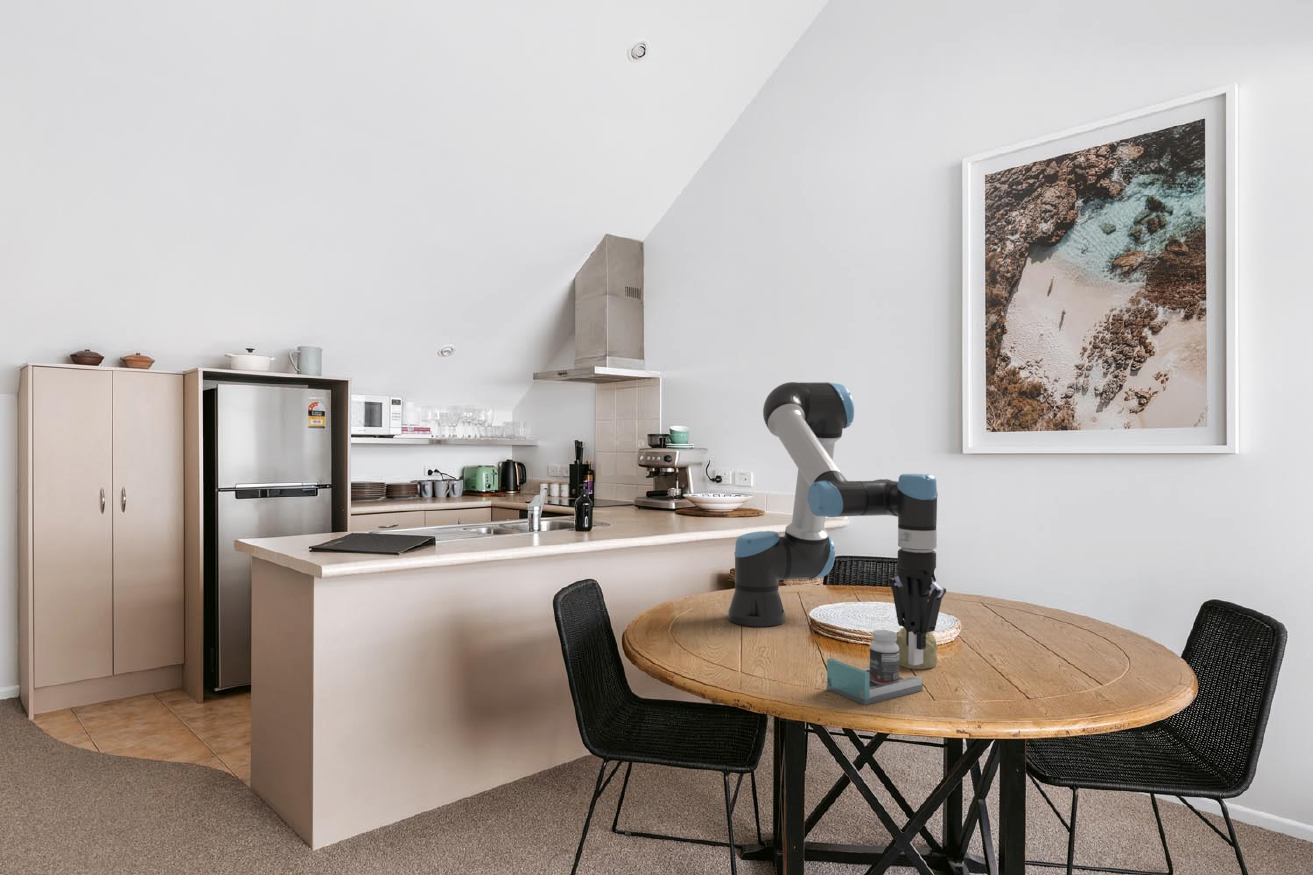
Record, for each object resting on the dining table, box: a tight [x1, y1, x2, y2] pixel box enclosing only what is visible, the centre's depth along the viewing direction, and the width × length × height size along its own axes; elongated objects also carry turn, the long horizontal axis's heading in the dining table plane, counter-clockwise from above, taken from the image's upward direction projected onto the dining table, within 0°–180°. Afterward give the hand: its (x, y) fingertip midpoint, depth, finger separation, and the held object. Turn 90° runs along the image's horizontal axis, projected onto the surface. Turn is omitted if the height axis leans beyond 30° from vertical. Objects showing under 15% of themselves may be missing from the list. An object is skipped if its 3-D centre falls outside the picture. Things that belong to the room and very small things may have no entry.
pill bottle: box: [869, 629, 900, 685], centre depth 153 cm, size 6×6×10 cm
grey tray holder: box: [826, 658, 924, 706], centre depth 152 cm, size 16×10×6 cm, turn 121°
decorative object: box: [895, 626, 938, 670], centre depth 169 cm, size 9×10×10 cm
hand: (915, 663), depth 158 cm, fingers closed
